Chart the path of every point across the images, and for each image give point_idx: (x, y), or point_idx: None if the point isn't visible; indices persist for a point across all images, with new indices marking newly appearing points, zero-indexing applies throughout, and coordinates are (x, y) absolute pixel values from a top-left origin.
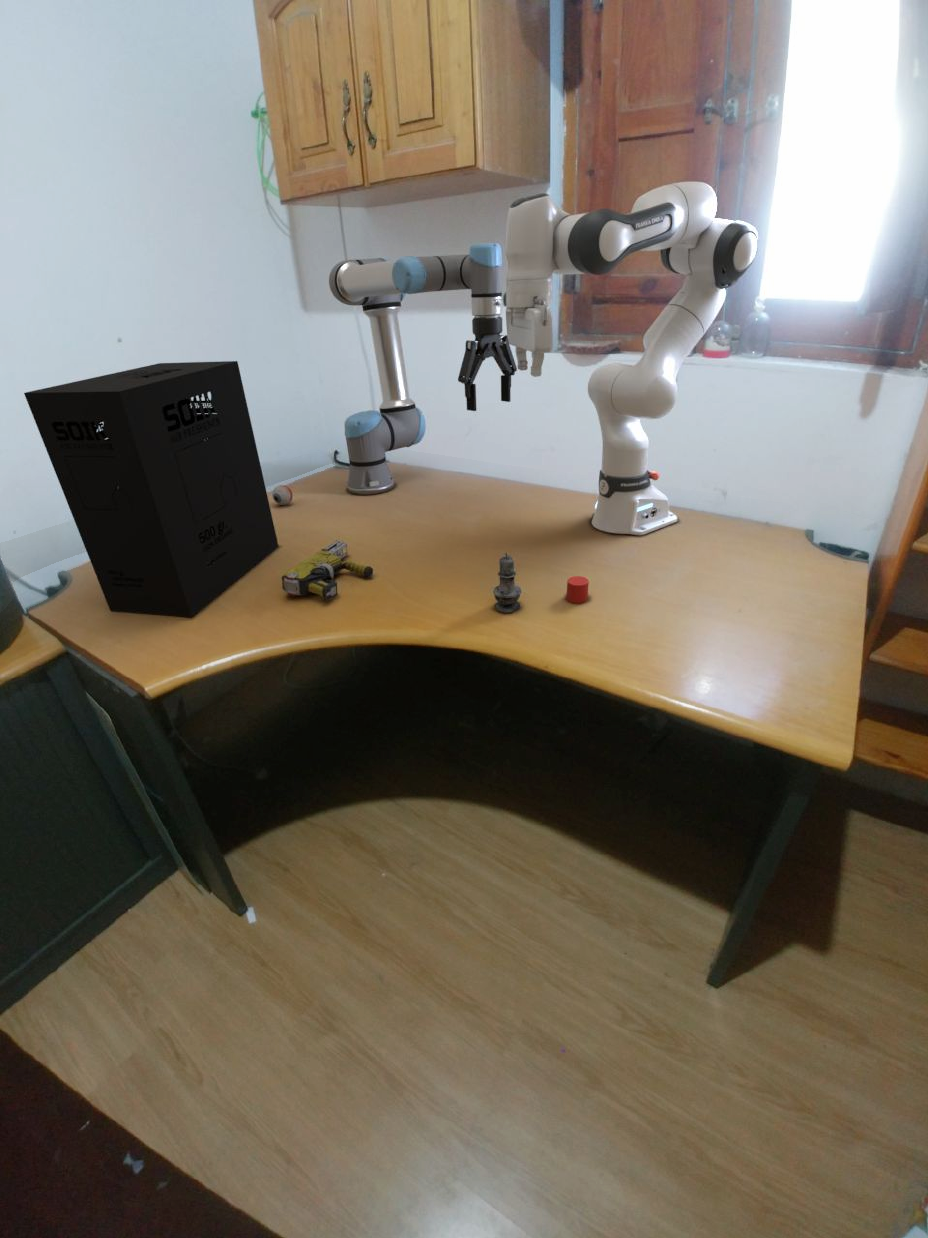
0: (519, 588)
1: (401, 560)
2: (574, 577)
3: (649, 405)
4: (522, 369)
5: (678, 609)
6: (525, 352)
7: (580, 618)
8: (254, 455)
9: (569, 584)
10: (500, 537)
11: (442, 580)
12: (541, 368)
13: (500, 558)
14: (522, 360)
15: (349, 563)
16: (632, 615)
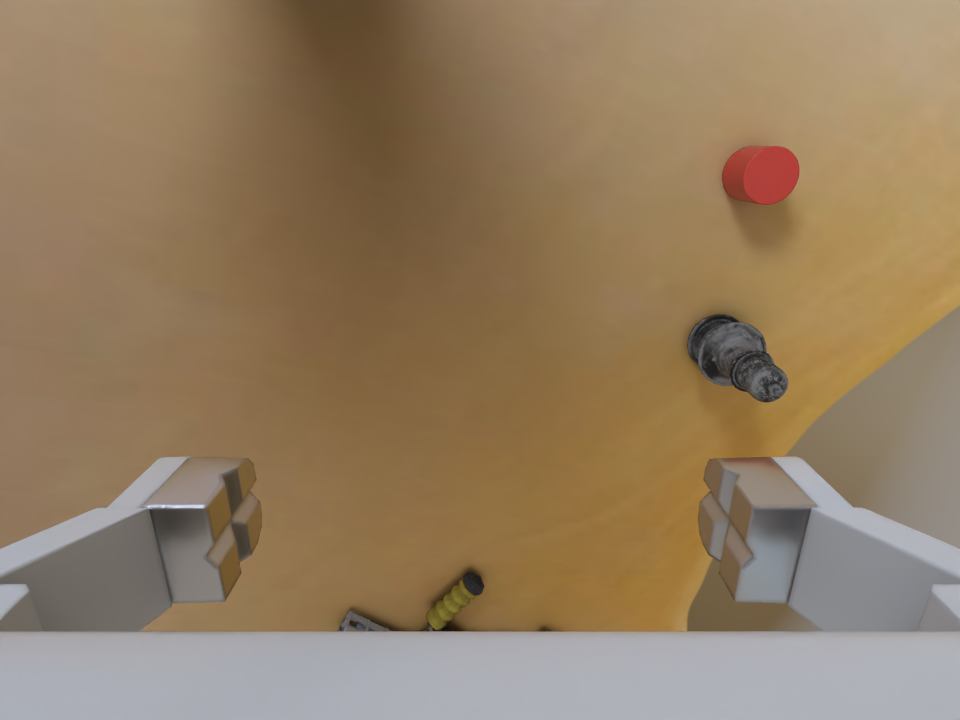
0: (737, 327)
1: (403, 510)
2: (750, 178)
3: None
4: (254, 507)
5: None
6: (17, 578)
7: (835, 201)
8: None
9: (772, 203)
10: (316, 257)
11: (537, 443)
12: (835, 491)
13: (762, 400)
14: (158, 559)
15: (443, 621)
16: (885, 70)
